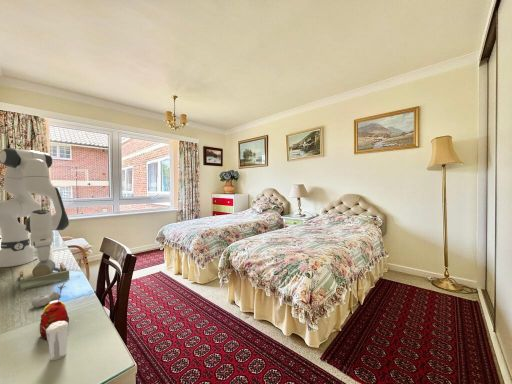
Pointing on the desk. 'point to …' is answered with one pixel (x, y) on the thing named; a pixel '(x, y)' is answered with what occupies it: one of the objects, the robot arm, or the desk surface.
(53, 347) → the white tooth model
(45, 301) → the smooth white sculpture
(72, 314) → the desk surface
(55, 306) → the red clay folk toy
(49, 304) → the watch
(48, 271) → the ceramic mug
